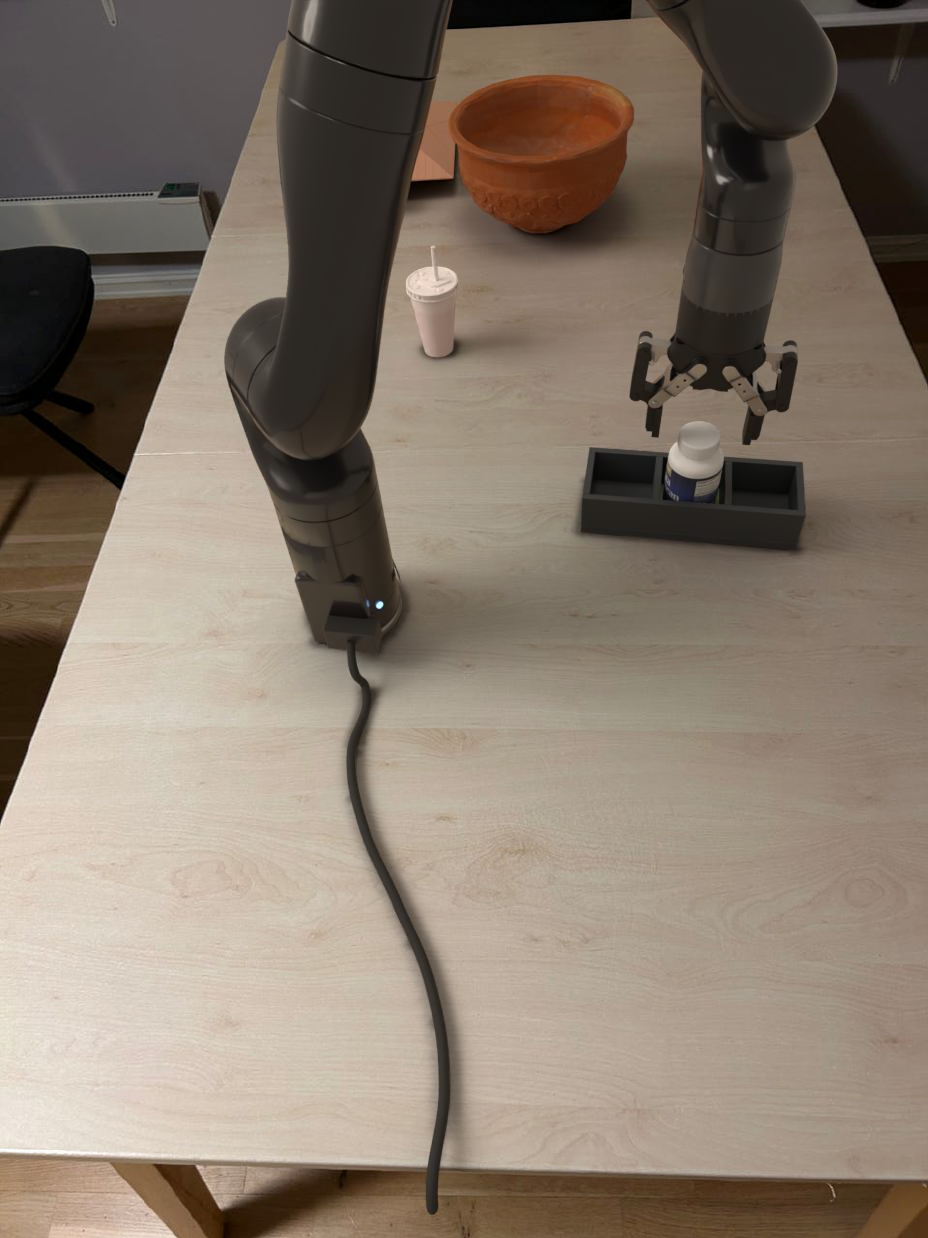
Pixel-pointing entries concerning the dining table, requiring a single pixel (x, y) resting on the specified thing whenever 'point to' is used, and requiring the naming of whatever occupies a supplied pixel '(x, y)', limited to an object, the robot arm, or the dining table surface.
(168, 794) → the dining table surface
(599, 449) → the rack
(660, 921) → the dining table surface
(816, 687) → the dining table surface
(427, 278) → the smoothie
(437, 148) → the house
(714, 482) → the pill bottle
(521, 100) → the bowl
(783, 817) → the dining table surface
